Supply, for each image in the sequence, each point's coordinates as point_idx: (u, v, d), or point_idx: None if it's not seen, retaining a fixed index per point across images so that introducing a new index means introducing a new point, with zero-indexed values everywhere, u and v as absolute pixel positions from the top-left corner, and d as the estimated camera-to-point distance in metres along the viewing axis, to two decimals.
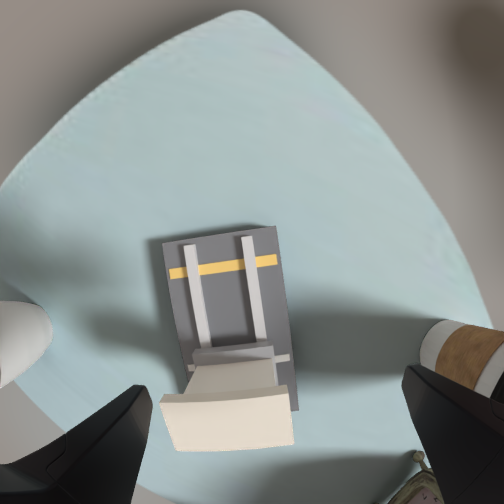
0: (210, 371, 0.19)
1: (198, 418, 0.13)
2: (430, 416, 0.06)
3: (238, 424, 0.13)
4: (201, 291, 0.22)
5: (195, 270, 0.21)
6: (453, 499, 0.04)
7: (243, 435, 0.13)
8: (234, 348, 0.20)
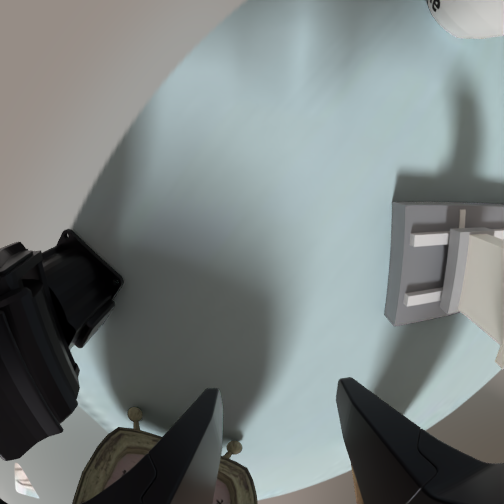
0: None
1: None
2: (356, 437, 0.06)
3: None
4: None
5: None
6: None
7: None
8: None
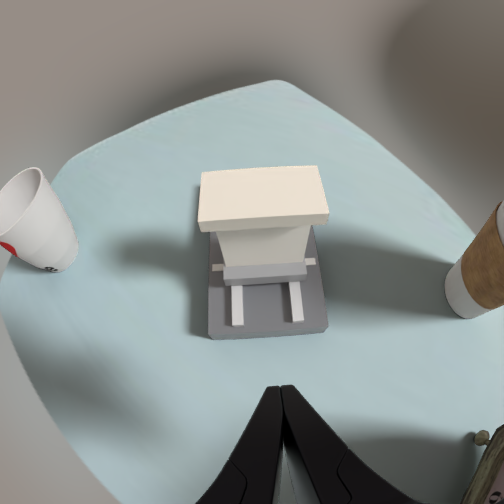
0: None
1: (235, 182, 0.16)
2: (289, 447, 0.06)
3: (272, 187, 0.15)
4: None
5: None
6: None
7: (276, 198, 0.15)
8: None
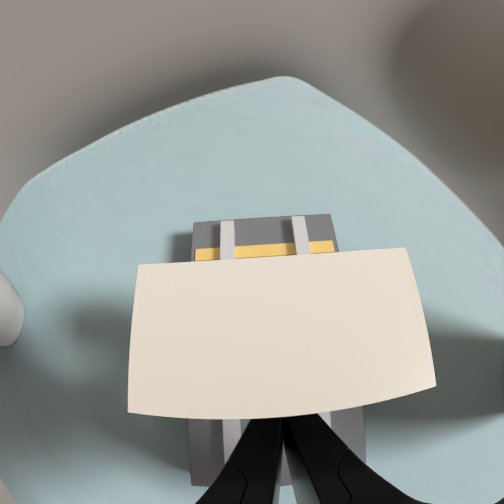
0: None
1: (215, 302, 0.06)
2: (288, 447, 0.06)
3: (311, 322, 0.06)
4: None
5: (230, 247, 0.17)
6: None
7: (322, 359, 0.05)
8: None
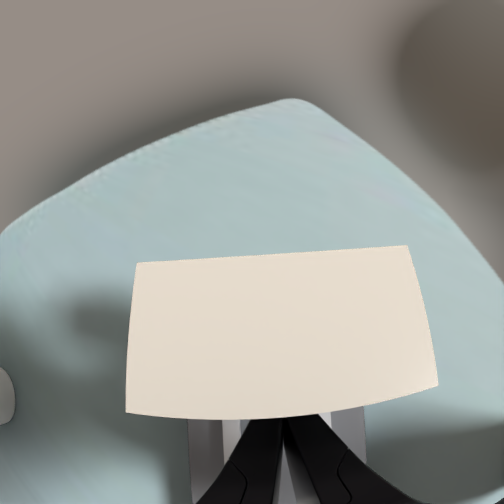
0: None
1: (214, 301, 0.06)
2: (289, 447, 0.06)
3: (312, 321, 0.06)
4: None
5: None
6: None
7: (323, 358, 0.05)
8: None
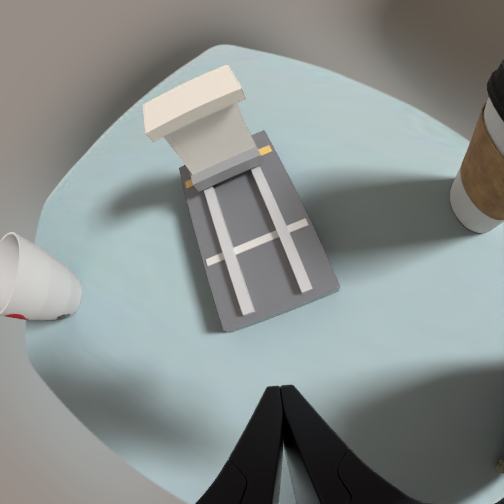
0: None
1: (167, 99, 0.17)
2: (289, 447, 0.06)
3: (195, 90, 0.17)
4: (212, 186, 0.24)
5: None
6: None
7: (199, 95, 0.16)
8: None
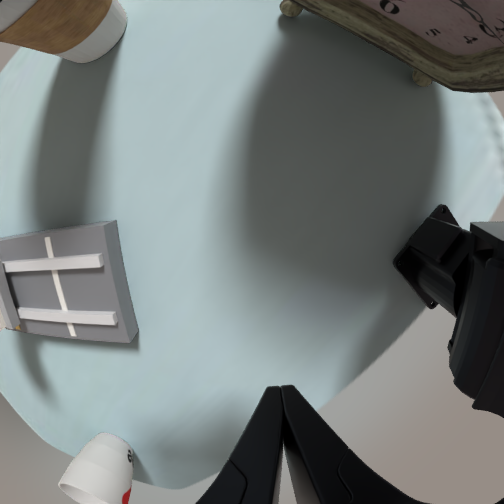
0: None
1: None
2: (289, 447, 0.06)
3: None
4: (18, 308, 0.19)
5: None
6: None
7: None
8: None
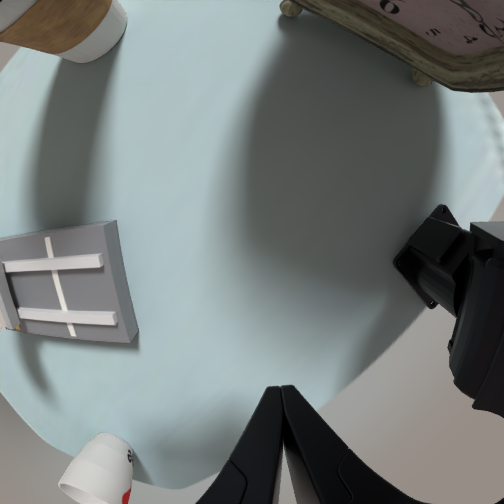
0: None
1: None
2: (289, 447, 0.06)
3: None
4: (18, 308, 0.19)
5: None
6: None
7: None
8: None
